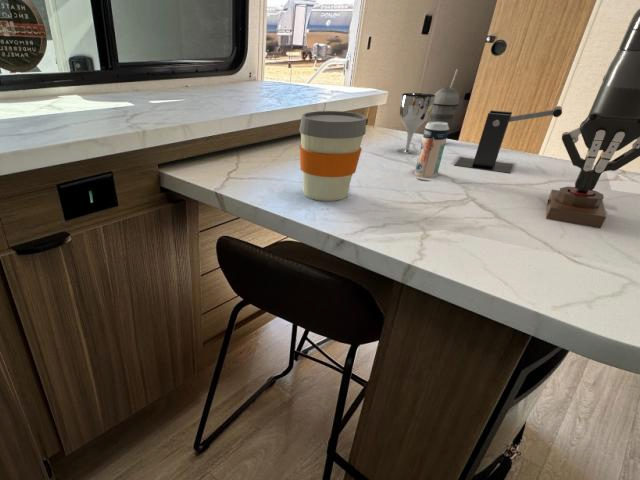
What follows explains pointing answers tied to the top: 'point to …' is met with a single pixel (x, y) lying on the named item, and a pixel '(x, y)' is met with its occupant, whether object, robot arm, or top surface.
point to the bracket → (490, 145)
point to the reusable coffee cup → (330, 152)
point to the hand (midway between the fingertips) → (582, 191)
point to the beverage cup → (445, 104)
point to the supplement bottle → (431, 149)
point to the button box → (576, 208)
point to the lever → (538, 114)
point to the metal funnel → (415, 112)
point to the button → (574, 191)
